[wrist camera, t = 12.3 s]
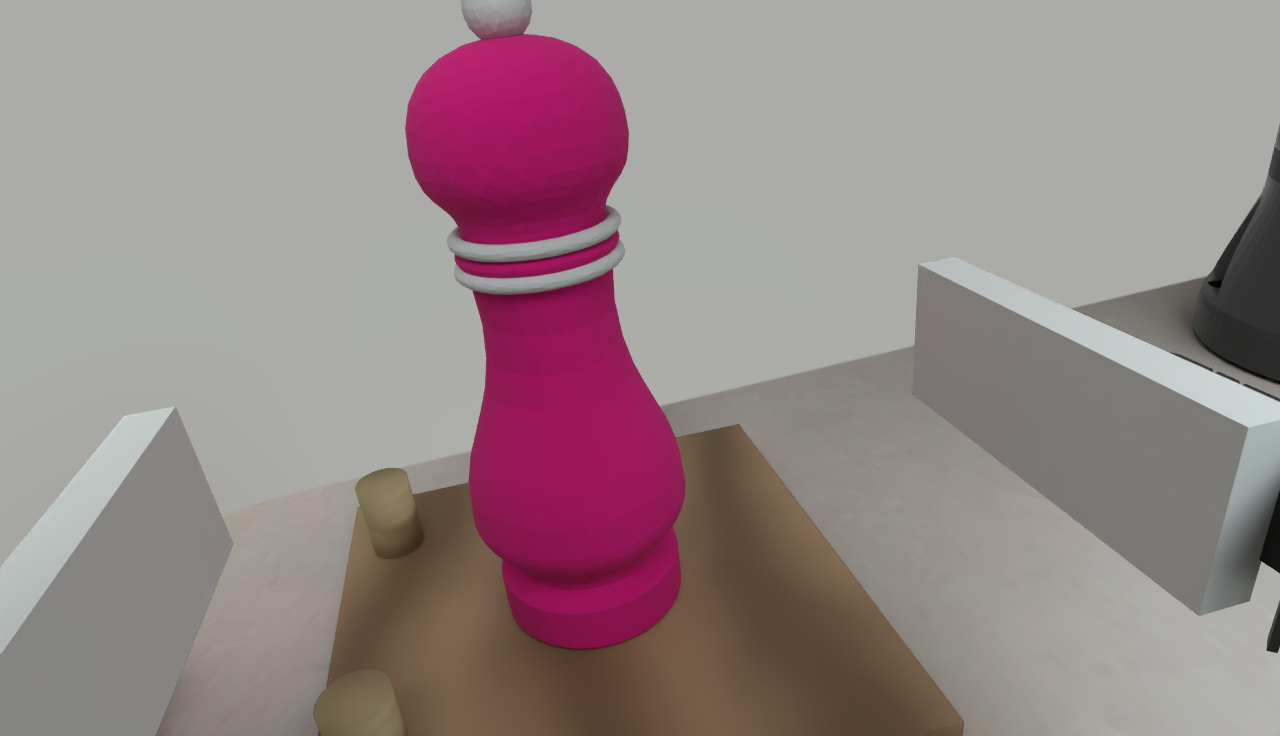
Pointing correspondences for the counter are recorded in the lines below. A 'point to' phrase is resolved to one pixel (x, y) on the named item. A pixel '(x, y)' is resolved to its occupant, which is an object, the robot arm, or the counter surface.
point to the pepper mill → (550, 331)
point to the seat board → (640, 667)
